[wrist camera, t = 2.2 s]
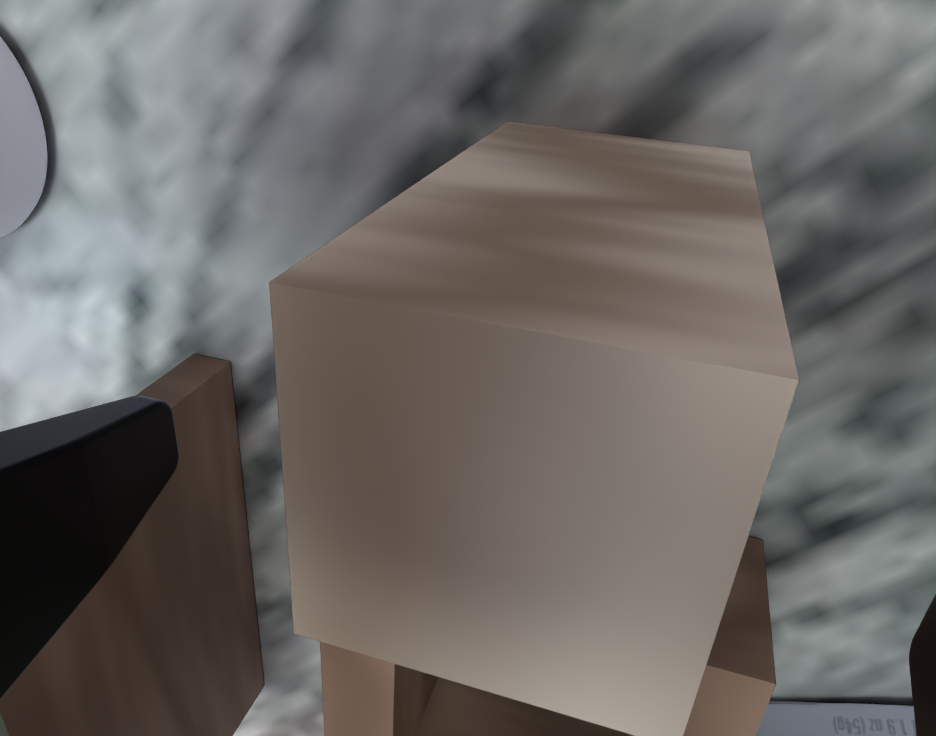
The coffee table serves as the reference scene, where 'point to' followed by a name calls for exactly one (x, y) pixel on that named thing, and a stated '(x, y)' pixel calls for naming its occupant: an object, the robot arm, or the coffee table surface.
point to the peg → (536, 419)
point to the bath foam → (19, 145)
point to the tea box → (836, 719)
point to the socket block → (237, 637)
